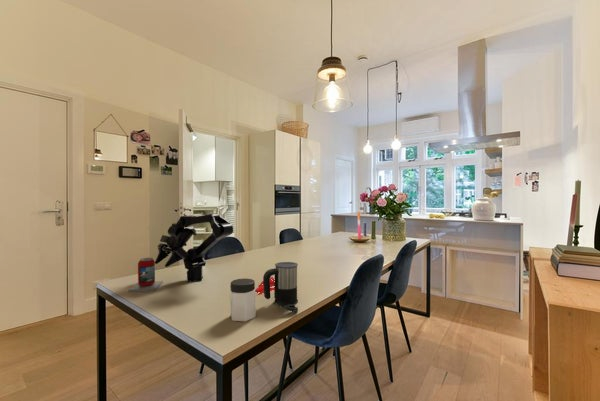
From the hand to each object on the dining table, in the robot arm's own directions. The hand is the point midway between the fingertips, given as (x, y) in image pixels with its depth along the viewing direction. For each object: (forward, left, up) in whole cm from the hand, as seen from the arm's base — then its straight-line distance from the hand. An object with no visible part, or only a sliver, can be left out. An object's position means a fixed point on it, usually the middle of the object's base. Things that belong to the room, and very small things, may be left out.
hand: (160, 265), depth 134 cm
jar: (-39, +44, -9) cm, 60 cm away
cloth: (-50, +13, -10) cm, 52 cm away
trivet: (+5, +3, -9) cm, 11 cm away
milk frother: (-55, +38, -9) cm, 68 cm away
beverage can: (+5, +3, -8) cm, 10 cm away
